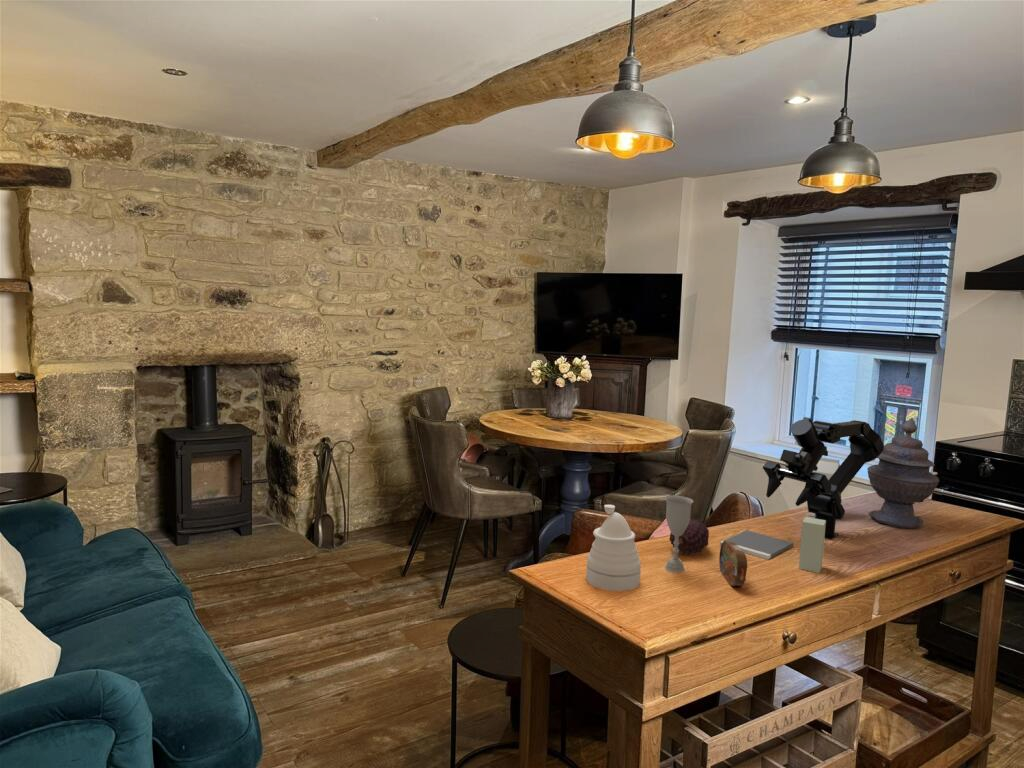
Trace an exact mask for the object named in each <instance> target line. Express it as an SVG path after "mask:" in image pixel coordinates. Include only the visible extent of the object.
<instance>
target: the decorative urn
mask: <svg viewBox="0 0 1024 768" xmlns="http://www.w3.org/2000/svg"><path fill="white" fill-rule="evenodd" d="M901 429H902V431H904V435H897V436H894V437H892V438H891V442H888V443H885V445H884V449H883V452H882V453H881V454H880V455H879V456H878V457H877V458H876V459H878V460H879V461H878V464H873V465H870V466H868V467H867V475H868V476H867V477H868V479H869V484H870V486H871V487H872V489H873V490H874V492H875V493H876V494H877V496H878V497H879V498H880V499H883V500H884V501H883V504H882V506H881V508H880V509H878V510H871V511H868V515H869V516H870V517H871V518H872V519H874V520H875V521H876V522H878V523H880V524H884V525H889V526H892V527H895V528H899V529H916V528H919V527H921V526H922V525H923V524H924V522H925V521H924V519H923V518H921V517H920V516H916V515H915V511H914V510H915V509H914V504H916V503H918V504H919V503H923V502H924V501H925V499H928V498H929V497H930V496H932V495H933V494H934V491H935V489H936V488H937V486H938V485H939V483H940V479H939V477H938V476H937V475H935V474H933V473H931V472H930V469H931V467H935V465H936V464H935V463H934V462H933V461H932V460H930V459H929V454H930V453H929V452H928V450H927V449H926V448H924V447H923V446H924V444H923V441H922V440H920V439H918V438H914V437H912V434H914V433H916V432H917V430H918V425H917V424H916V422H915V420H914V418H913V417H911V418H909V419H907V420H906V421H905V422H904V423H902V425H901Z"/></svg>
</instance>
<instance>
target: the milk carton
mask: <svg viewBox="0 0 1024 768" xmlns="http://www.w3.org/2000/svg"><path fill="white" fill-rule="evenodd" d="M840 465H841V464H840V459H834V458H830V457H829V458H827V457H823V456H822V457H821V459H820V461H819V462H818V464H817V465H816V466H817V467H818V469H817V471H814V470H813V472H815V473H820V474H824V475H826V477H827V479H828V480H829V479H830V478H831V476H832V475H833V474H834V473H835V471H836V470H837V469H838V468H839V466H840ZM807 515H808V516H809V517H810V516H811V517H813V518H815V513H811V512H808V514H807Z"/></svg>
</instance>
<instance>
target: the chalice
mask: <svg viewBox="0 0 1024 768" xmlns="http://www.w3.org/2000/svg"><path fill="white" fill-rule="evenodd" d="M664 500H665V502H666V505H665V506H666V511H665V519H666V523H667V526H668V529H669V530H670V533H671V534H673V535H675V540H674V542H673V543H674V548H672V552H673V556H672V557H671V558H669V559H668V560H667V562H666V565H665V566H664V569H665V570H666V571H668V572H671V573H677V574H678V573H684V572H685V571H686V569H685V567H684V564H683V561H682V559H680V558H679V557H678V555H679V553H680V552H679V549H678V545H679V544H680V543H679V540H678V538H679V536H681V535H683V533H684V532H685V530H686V528H687V526H688V524H689V521H690V519H691V514H692V513H691V511H692V505H693V503H694V500H693V499H692V498H690V497H687V496H682V495H668V496H665V497H664Z"/></svg>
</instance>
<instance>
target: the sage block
mask: <svg viewBox="0 0 1024 768" xmlns="http://www.w3.org/2000/svg"><path fill="white" fill-rule="evenodd" d="M801 525H802V527H801V536H800V537H801V538H800V549H799V561H798V570H802V569H804V570H803V571H807V570H808V571H807V572H812V571H814V573H818V574H820V573H821V570H822V568H823V567H822V566H823V558H824V550H825V549H824V548H825V547H824V545H825V538H824V537H825V526H826V520H821V519H815V517H810V516H809V517H807V516H805V517H804V518H803V520H802V524H801Z"/></svg>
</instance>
